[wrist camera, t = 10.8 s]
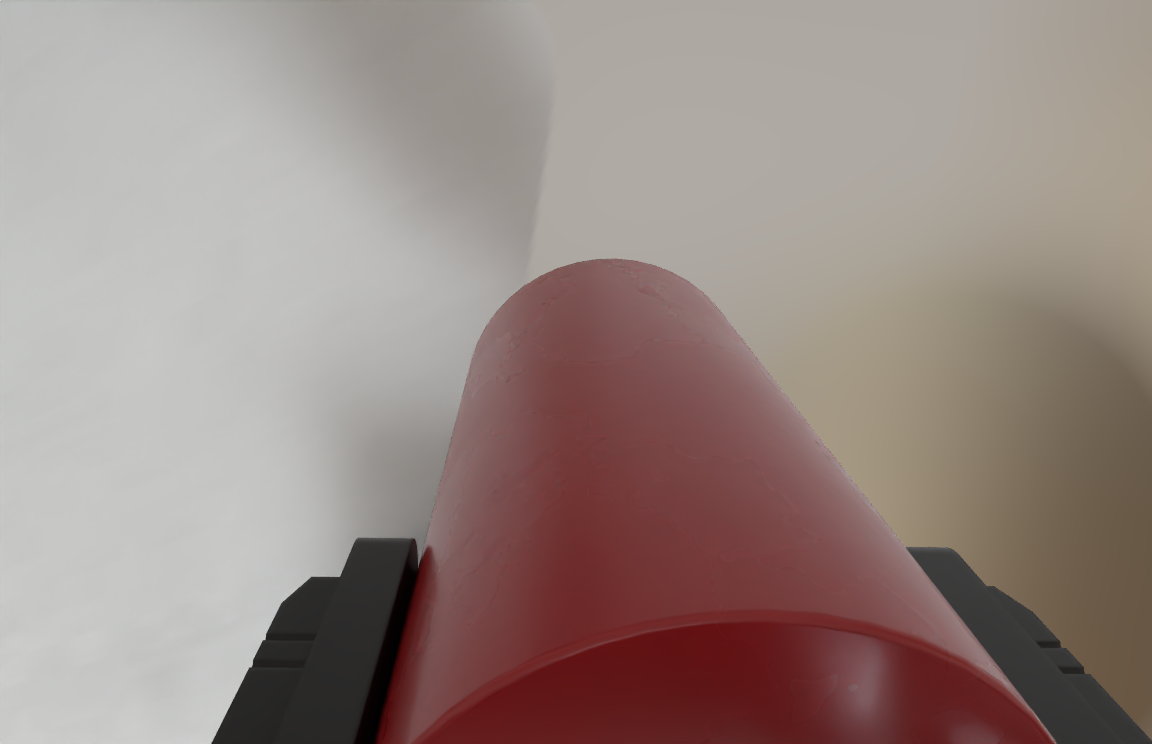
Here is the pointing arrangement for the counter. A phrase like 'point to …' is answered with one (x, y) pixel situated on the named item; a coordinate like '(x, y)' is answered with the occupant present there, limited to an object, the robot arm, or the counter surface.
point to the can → (666, 552)
